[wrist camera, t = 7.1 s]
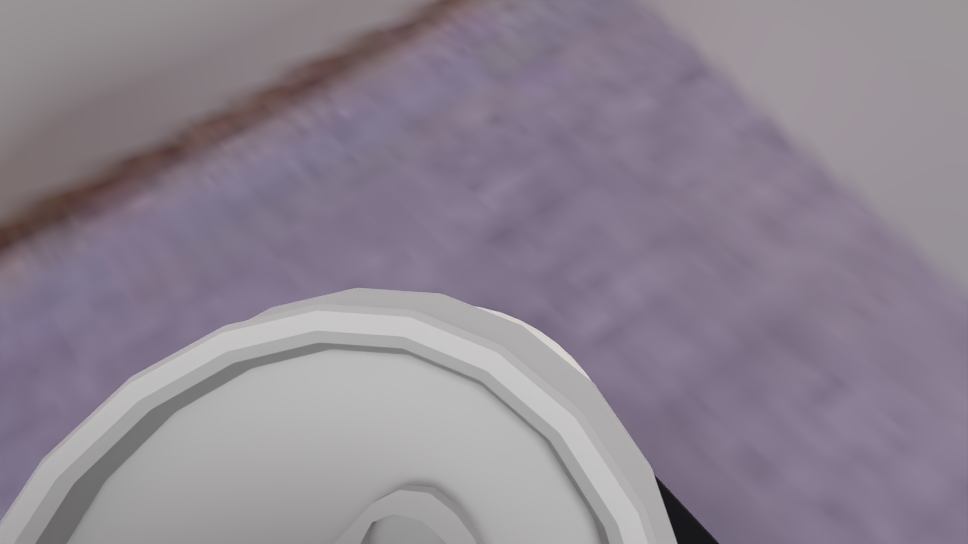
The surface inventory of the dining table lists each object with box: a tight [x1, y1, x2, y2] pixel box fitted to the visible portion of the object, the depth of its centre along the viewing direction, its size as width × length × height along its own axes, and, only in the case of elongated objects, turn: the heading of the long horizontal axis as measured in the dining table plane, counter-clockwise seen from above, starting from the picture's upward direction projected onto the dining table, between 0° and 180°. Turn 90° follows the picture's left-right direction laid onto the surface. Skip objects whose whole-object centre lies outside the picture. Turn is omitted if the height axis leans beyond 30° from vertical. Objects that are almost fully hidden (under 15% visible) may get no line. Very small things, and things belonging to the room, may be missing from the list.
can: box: [0, 288, 677, 544], centre depth 9 cm, size 8×8×12 cm
